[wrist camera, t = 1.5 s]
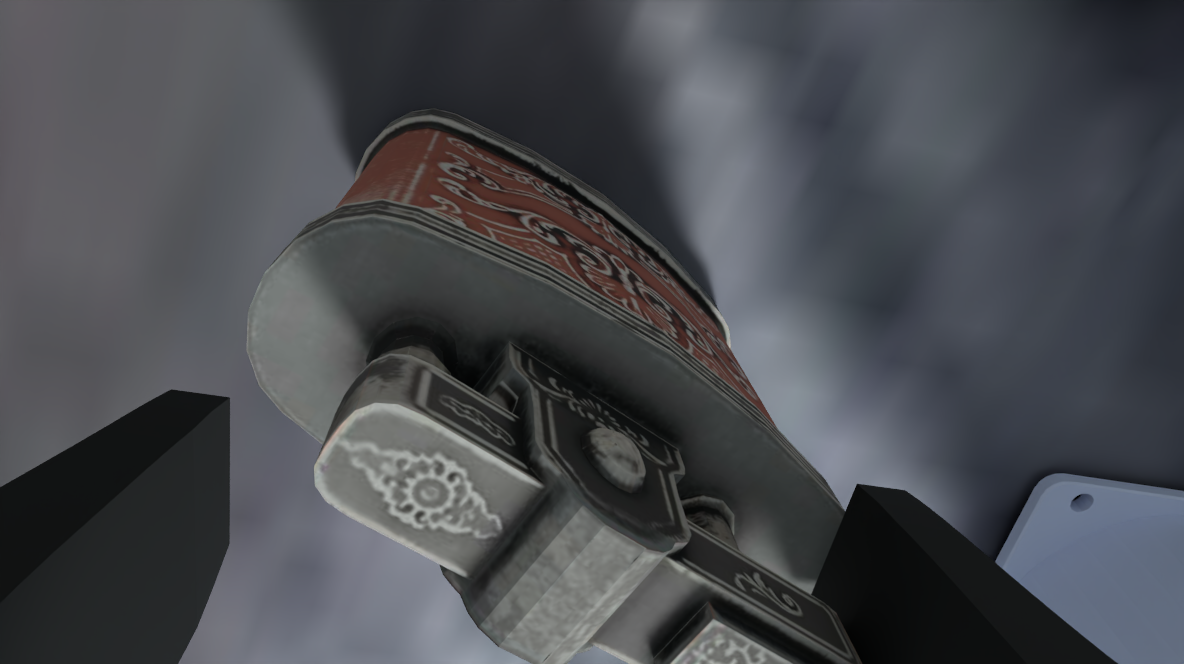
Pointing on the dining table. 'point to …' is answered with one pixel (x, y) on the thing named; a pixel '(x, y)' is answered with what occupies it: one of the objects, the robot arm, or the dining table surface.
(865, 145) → the dining table surface
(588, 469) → the lighter
